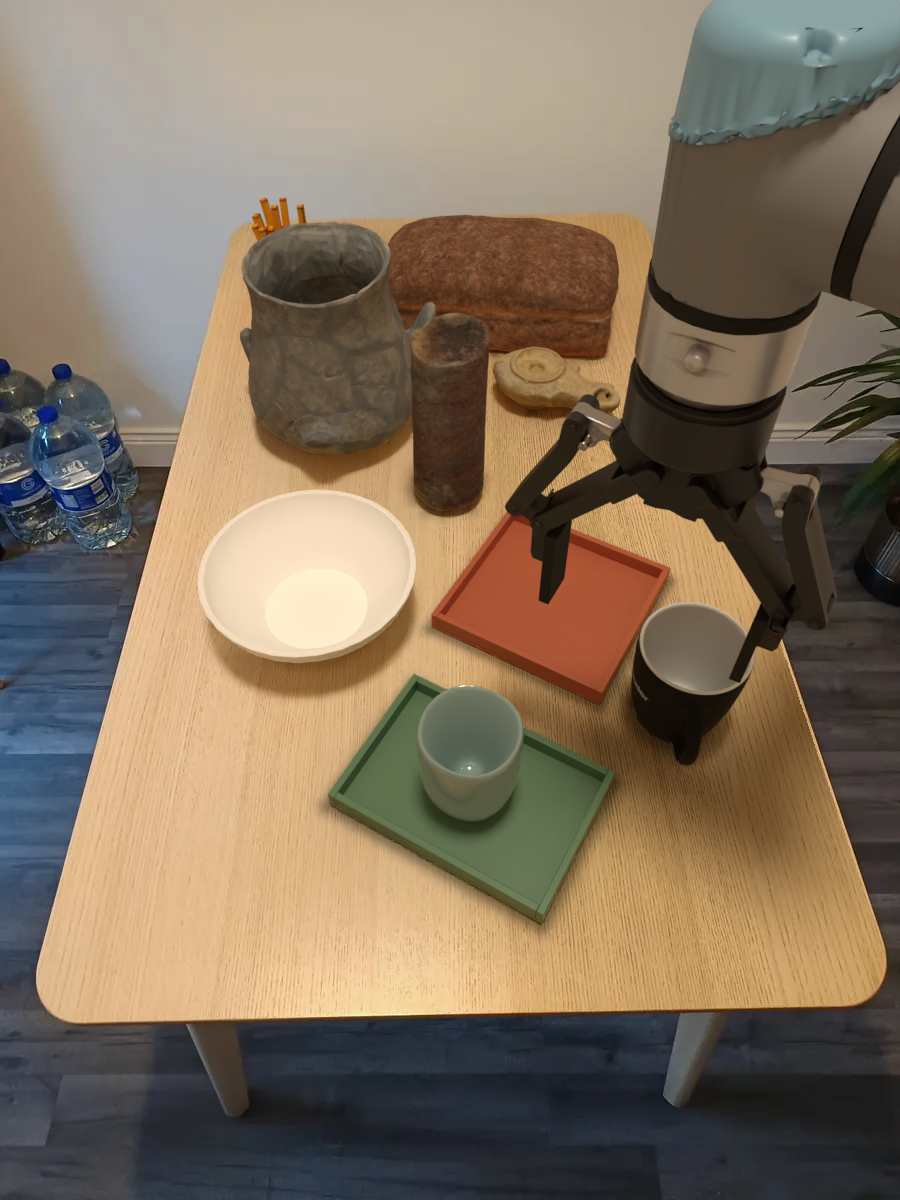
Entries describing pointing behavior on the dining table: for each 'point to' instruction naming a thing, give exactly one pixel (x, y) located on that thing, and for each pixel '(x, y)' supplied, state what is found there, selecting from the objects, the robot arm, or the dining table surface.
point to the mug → (686, 674)
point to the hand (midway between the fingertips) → (642, 626)
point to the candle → (449, 409)
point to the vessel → (327, 338)
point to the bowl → (307, 575)
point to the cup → (469, 751)
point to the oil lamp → (548, 381)
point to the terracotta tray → (553, 607)
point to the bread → (510, 279)
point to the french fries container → (274, 217)
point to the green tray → (485, 848)
